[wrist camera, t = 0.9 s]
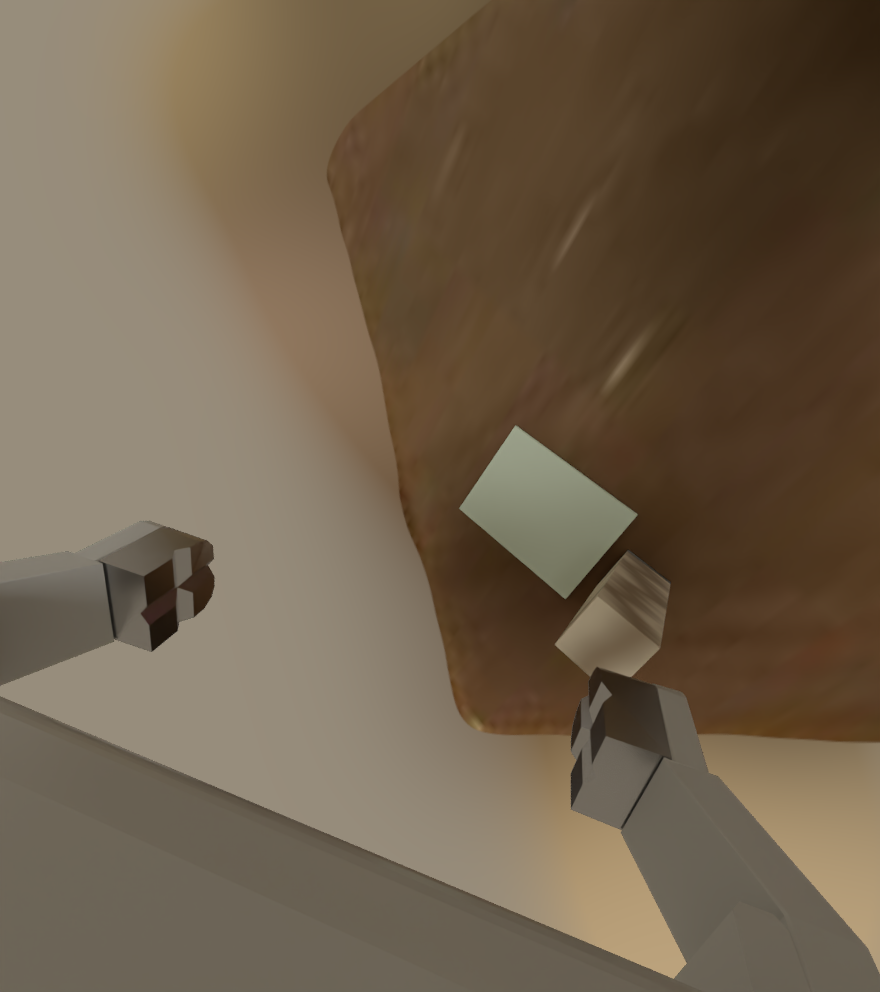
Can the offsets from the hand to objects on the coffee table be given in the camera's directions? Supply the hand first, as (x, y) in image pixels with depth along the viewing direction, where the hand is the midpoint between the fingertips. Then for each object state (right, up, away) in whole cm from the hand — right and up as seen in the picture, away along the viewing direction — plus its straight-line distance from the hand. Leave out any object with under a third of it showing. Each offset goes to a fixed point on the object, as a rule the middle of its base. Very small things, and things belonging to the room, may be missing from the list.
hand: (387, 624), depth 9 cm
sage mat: (+12, +1, +43) cm, 45 cm away
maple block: (+21, -6, +39) cm, 45 cm away
